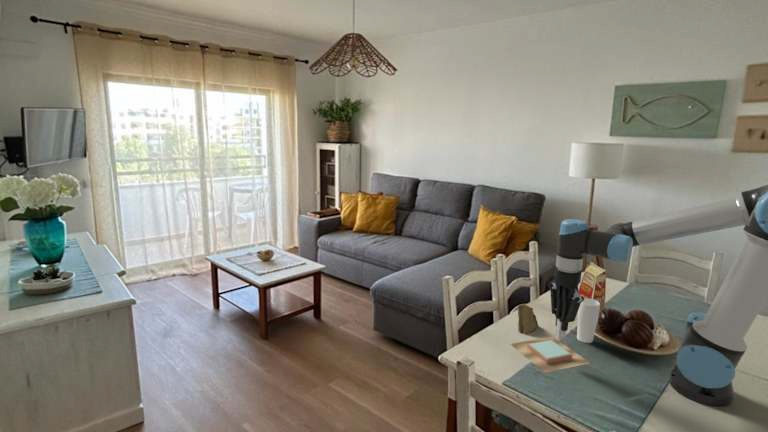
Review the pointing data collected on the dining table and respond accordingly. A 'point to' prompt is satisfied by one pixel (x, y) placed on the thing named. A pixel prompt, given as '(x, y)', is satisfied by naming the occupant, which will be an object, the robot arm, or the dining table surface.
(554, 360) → the tile
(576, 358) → the mat
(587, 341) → the drinking glass
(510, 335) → the dining table surface
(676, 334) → the dining table surface
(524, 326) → the rock
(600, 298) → the milk carton
